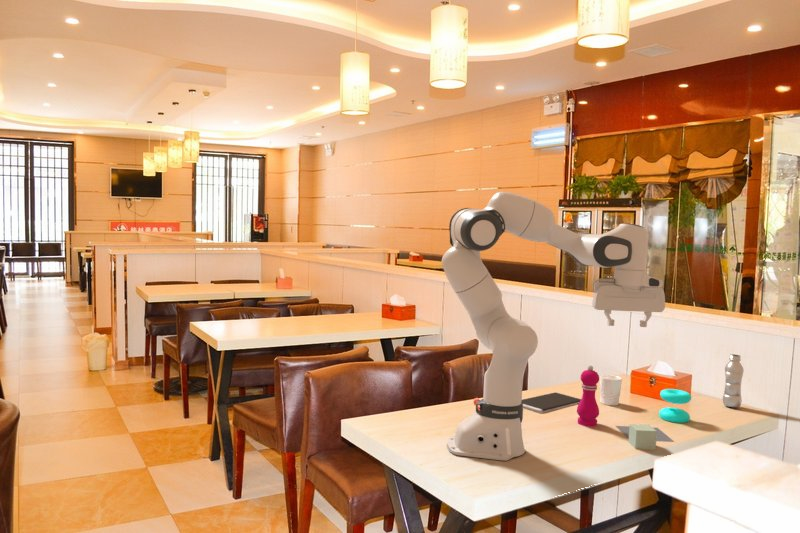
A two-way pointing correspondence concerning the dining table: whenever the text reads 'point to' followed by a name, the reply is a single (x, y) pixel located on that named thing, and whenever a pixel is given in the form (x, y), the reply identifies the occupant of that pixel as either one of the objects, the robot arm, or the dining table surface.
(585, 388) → the pepper mill
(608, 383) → the white cup
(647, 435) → the sage block
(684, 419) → the donuts
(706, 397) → the dining table surface
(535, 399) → the dark grey flat slab
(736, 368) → the plastic bottle
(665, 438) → the mat
